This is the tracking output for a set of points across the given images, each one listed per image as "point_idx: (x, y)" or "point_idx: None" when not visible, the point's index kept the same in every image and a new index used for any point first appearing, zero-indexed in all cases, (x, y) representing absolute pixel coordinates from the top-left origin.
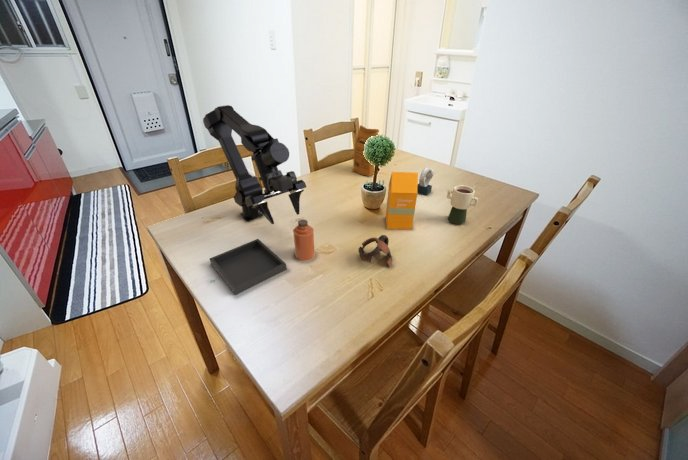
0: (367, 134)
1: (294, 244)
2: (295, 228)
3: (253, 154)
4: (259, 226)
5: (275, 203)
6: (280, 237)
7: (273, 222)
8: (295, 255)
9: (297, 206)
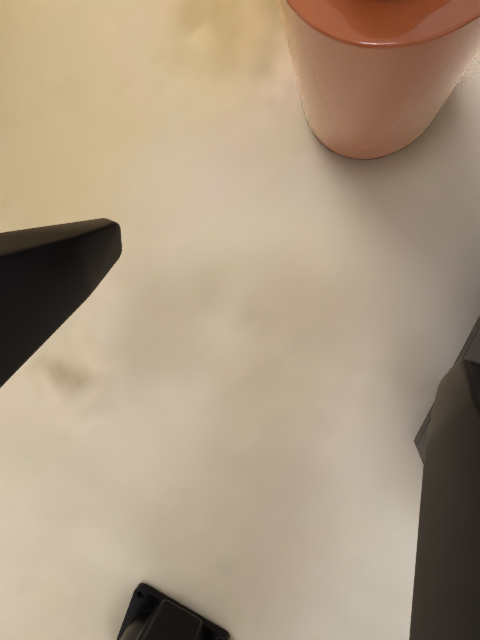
0: None
1: (456, 81)
2: (415, 26)
3: None
4: (235, 546)
5: (13, 578)
6: (269, 369)
7: (473, 367)
8: (419, 133)
9: (30, 244)
